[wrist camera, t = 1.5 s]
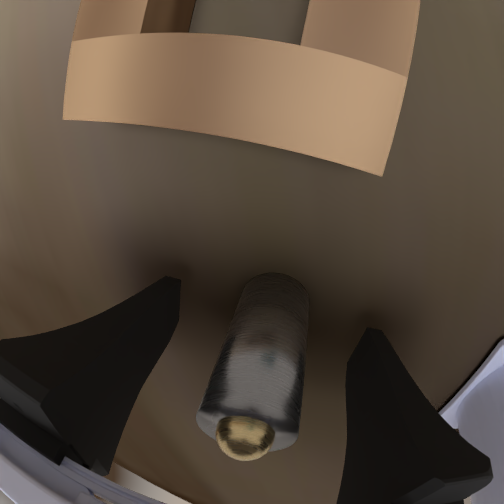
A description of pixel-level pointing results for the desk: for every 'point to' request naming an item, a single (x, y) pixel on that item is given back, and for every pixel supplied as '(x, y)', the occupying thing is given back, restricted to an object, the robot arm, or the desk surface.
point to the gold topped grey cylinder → (259, 371)
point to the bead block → (249, 76)
